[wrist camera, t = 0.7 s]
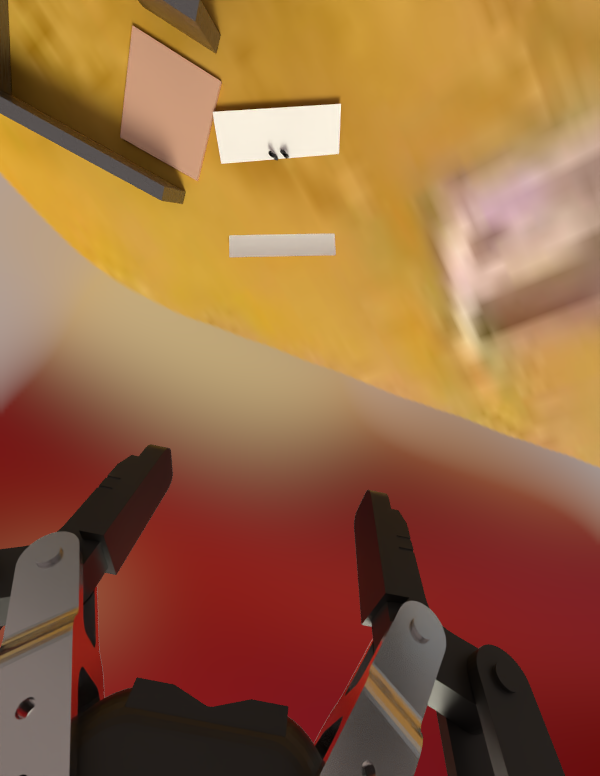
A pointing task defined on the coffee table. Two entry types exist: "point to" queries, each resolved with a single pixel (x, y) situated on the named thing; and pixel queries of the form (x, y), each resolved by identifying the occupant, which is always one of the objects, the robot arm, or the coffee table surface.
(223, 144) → the white strips
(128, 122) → the pad
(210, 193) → the coffee table surface
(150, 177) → the guide rails
